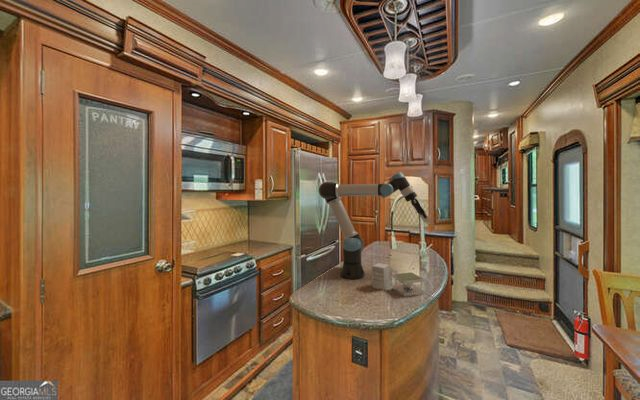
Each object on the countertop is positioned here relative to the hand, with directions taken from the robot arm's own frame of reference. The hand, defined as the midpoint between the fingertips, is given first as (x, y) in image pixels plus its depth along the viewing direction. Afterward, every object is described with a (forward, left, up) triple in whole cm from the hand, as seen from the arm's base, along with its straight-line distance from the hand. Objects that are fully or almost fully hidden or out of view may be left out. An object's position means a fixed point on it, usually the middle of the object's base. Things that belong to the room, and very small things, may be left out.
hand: (427, 222), depth 173 cm
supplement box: (-39, -11, -34) cm, 53 cm away
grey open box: (-28, -21, -34) cm, 49 cm away
